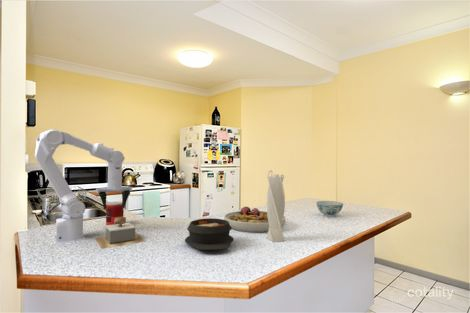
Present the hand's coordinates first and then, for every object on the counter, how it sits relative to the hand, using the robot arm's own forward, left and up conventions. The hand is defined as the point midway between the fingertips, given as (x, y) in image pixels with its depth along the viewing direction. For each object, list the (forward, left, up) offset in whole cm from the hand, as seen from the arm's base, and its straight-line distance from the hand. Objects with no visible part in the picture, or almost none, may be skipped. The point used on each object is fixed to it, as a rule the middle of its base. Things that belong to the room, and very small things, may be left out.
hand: (114, 208), depth 119 cm
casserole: (+26, -39, -11) cm, 48 cm away
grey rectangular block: (-1, -16, -10) cm, 19 cm away
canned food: (+3, +13, -11) cm, 17 cm away
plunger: (-1, -16, -10) cm, 19 cm away
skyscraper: (+51, -49, -11) cm, 72 cm away
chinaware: (+112, -32, -11) cm, 117 cm away
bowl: (+59, -26, -11) cm, 66 cm away
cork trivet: (-1, -16, -10) cm, 19 cm away
